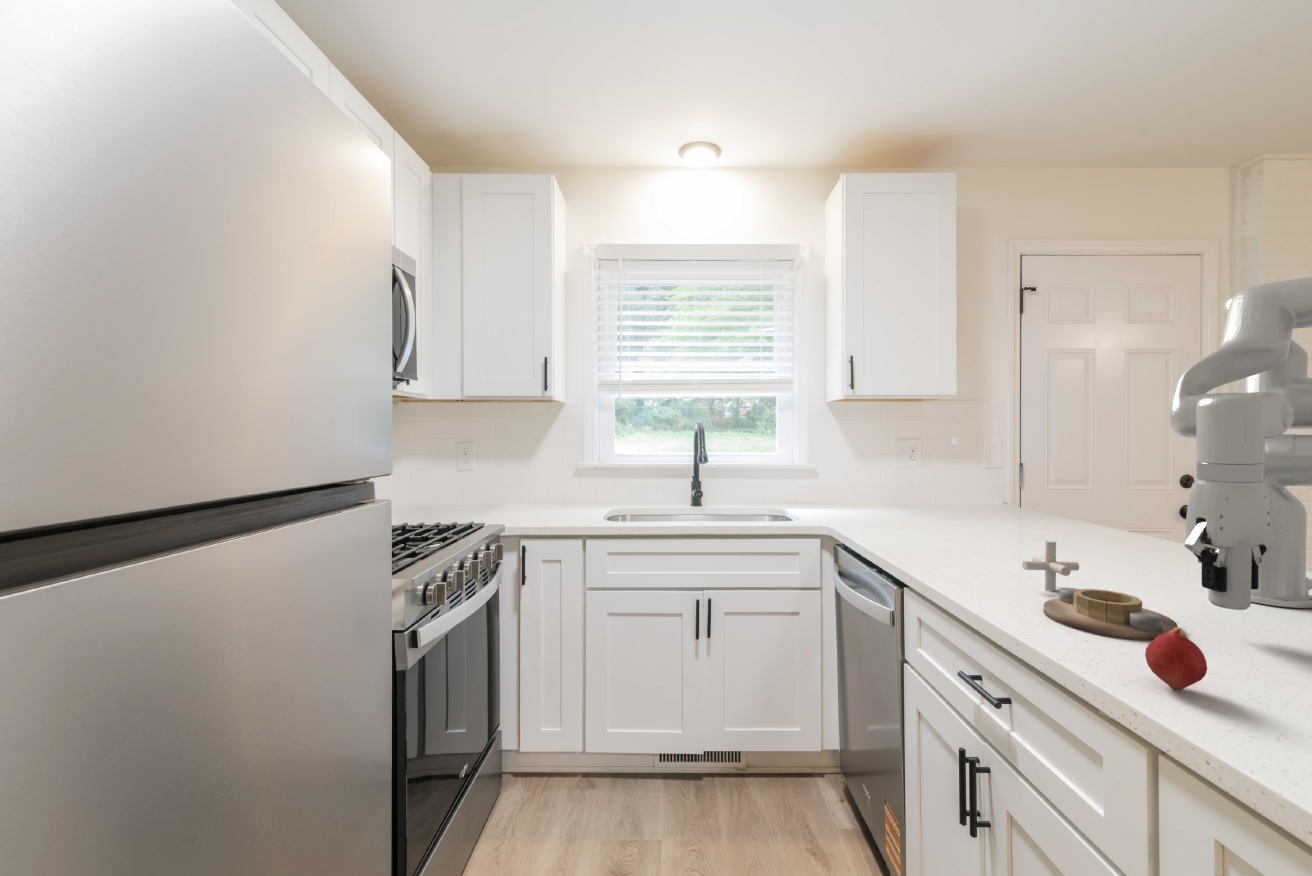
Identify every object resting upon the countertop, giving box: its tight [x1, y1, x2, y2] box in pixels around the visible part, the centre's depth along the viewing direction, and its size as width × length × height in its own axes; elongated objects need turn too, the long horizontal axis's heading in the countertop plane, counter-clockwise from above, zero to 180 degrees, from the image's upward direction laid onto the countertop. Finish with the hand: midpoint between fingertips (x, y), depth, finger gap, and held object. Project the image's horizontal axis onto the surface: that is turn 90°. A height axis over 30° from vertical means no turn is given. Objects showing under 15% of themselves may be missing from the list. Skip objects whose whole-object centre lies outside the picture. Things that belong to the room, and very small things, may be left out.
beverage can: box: [1207, 537, 1252, 611], centre depth 89 cm, size 5×5×12 cm
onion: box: [1144, 627, 1208, 691], centre depth 72 cm, size 6×6×8 cm
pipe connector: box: [1021, 540, 1080, 592], centre depth 116 cm, size 10×10×10 cm
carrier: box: [1043, 587, 1178, 641], centre depth 98 cm, size 18×18×4 cm
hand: (1229, 587), depth 90 cm, fingers closed on beverage can, 4 cm apart
